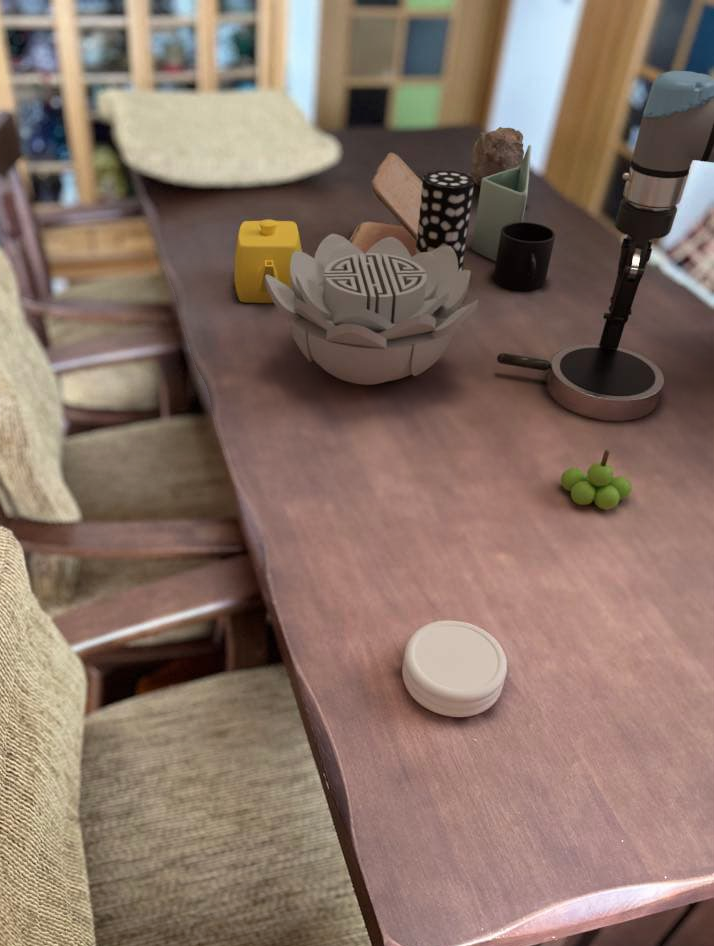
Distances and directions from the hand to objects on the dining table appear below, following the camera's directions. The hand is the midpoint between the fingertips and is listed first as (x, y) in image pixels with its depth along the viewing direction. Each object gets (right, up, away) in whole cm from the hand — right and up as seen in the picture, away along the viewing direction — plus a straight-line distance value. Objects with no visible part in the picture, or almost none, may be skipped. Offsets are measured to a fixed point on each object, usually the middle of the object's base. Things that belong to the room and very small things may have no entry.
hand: (605, 355), depth 128 cm
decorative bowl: (-38, -2, 0) cm, 38 cm away
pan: (-6, -6, -4) cm, 10 cm away
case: (-29, +27, +32) cm, 51 cm away
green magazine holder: (-10, +28, +34) cm, 45 cm away
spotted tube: (-24, +15, +19) cm, 34 cm away
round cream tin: (-32, -43, -46) cm, 71 cm away
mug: (-8, +18, +23) cm, 30 cm away
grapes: (-11, -24, -24) cm, 36 cm away
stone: (-5, +48, +56) cm, 74 cm away
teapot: (-54, +16, +19) cm, 59 cm away
